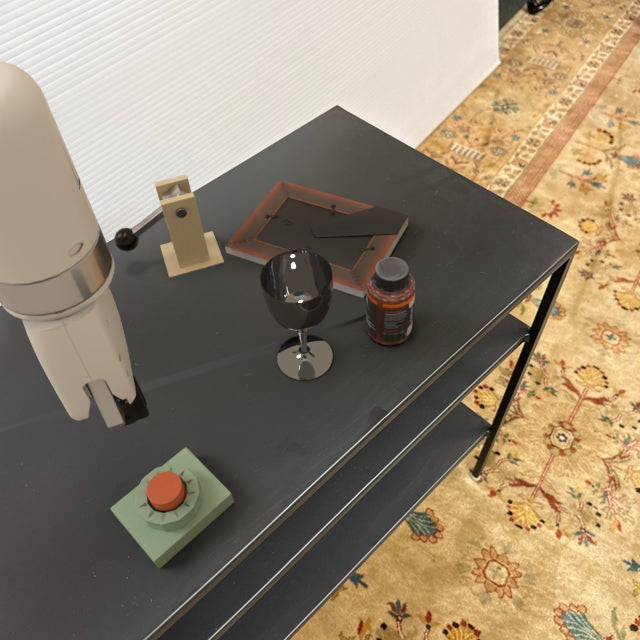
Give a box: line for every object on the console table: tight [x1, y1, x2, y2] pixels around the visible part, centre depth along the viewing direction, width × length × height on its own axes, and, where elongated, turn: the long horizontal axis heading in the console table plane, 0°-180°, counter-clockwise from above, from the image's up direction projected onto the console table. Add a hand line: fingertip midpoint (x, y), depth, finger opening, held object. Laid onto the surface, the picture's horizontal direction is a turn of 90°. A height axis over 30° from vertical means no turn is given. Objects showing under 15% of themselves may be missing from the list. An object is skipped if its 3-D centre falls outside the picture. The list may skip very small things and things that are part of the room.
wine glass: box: [259, 250, 334, 381], centre depth 76 cm, size 8×8×15 cm
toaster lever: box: [113, 184, 187, 252], centre depth 87 cm, size 12×3×3 cm, turn 110°
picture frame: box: [224, 179, 409, 299], centre depth 94 cm, size 16×2×22 cm
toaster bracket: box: [153, 174, 225, 279], centre depth 89 cm, size 8×7×13 cm
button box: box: [110, 446, 235, 570], centre depth 68 cm, size 10×8×4 cm
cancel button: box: [146, 472, 185, 511], centre depth 66 cm, size 4×4×2 cm
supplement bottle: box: [365, 256, 417, 346], centre depth 80 cm, size 6×6×11 cm
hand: (130, 414), depth 55 cm, fingers closed
